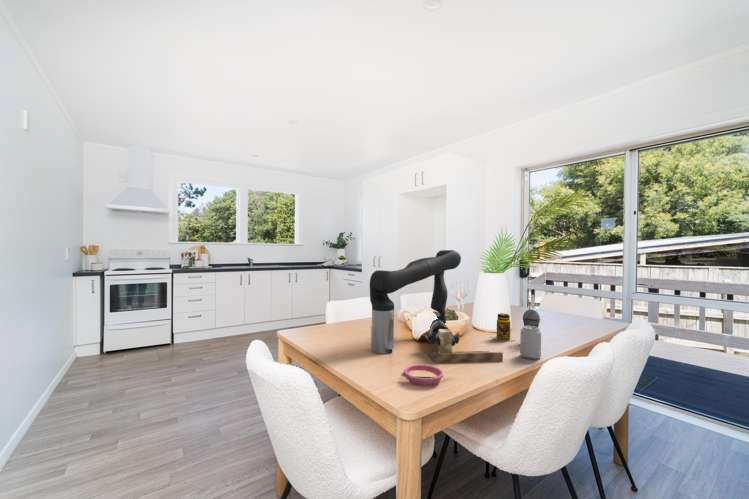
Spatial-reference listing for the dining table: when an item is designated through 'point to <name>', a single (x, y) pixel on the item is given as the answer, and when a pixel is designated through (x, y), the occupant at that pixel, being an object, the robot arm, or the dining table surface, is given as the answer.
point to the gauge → (445, 341)
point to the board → (465, 356)
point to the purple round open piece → (423, 380)
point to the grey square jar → (530, 342)
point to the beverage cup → (531, 317)
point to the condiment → (503, 328)
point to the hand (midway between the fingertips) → (446, 343)
